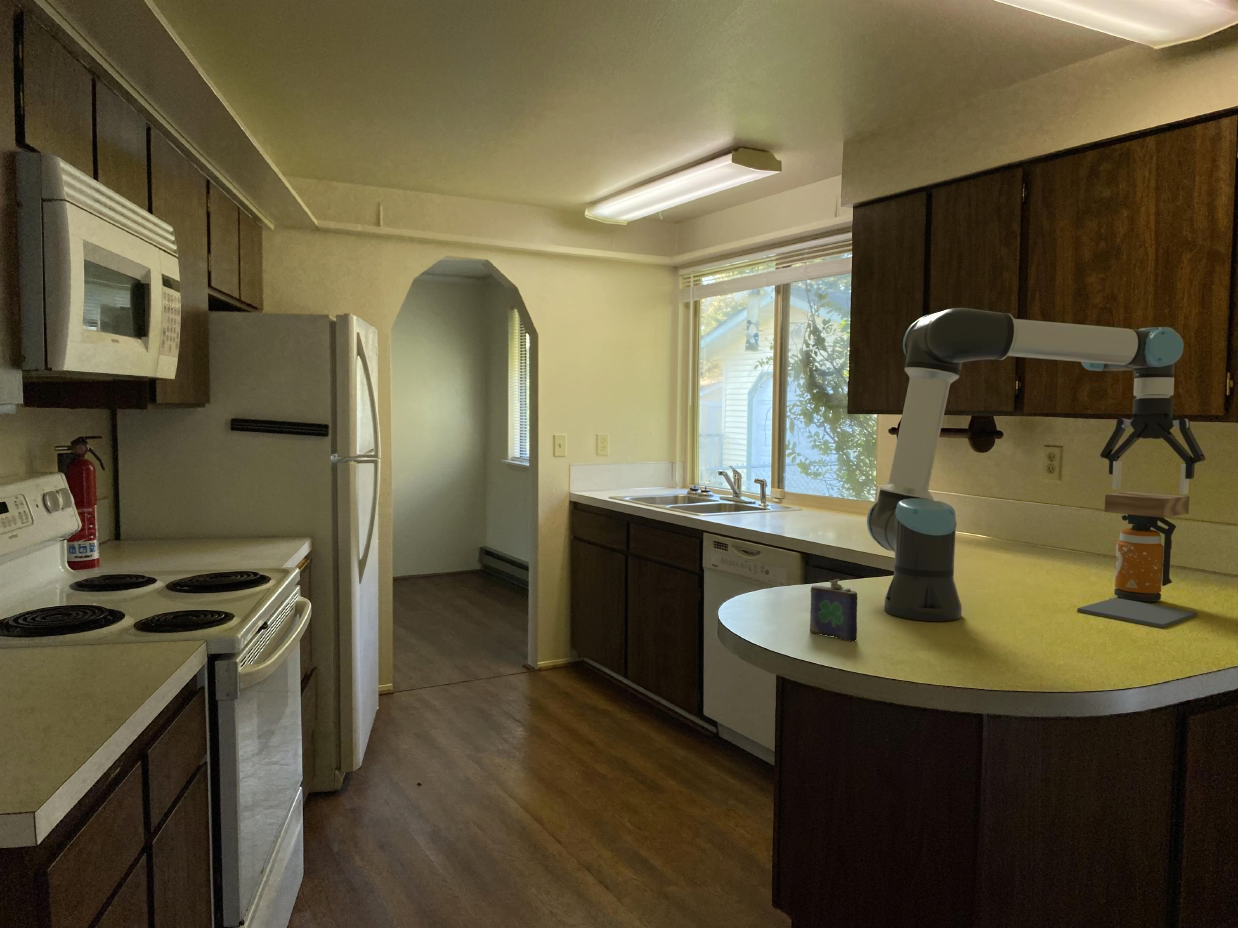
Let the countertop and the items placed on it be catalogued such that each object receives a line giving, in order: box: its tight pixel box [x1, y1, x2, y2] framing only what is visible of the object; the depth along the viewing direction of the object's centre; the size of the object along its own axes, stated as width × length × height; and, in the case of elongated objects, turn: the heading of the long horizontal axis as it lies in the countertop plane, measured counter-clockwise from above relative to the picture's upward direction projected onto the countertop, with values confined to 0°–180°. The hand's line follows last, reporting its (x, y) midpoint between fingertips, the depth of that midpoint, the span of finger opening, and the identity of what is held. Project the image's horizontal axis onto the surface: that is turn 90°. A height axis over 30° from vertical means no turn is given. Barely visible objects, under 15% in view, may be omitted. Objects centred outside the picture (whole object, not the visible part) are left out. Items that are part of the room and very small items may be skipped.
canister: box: [1113, 514, 1177, 604], centre depth 183 cm, size 9×11×20 cm
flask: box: [809, 578, 858, 642], centre depth 150 cm, size 9×3×11 cm, turn 48°
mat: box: [1076, 597, 1198, 629], centre depth 170 cm, size 18×16×1 cm
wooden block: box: [1104, 491, 1190, 519], centre depth 182 cm, size 14×12×4 cm
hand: (1149, 491), depth 182 cm, fingers open, 13 cm apart
